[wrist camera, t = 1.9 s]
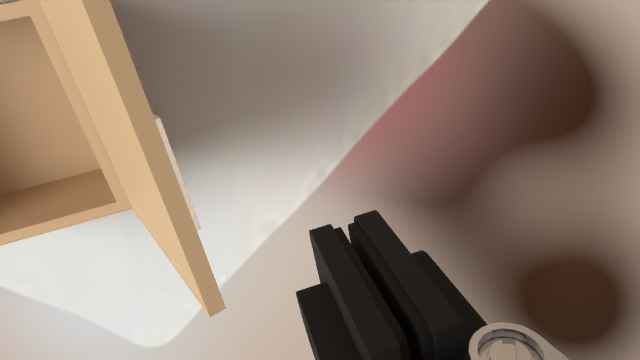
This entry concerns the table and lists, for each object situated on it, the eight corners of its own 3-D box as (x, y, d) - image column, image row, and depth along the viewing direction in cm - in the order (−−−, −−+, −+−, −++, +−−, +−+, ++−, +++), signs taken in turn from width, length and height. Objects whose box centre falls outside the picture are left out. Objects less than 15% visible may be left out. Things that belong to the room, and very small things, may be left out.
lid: (37, -3, 24) (56, -7, 25) (132, 209, 31) (146, 203, 31) (79, -6, 14) (111, -13, 14) (210, 317, 20) (229, 305, 21)
